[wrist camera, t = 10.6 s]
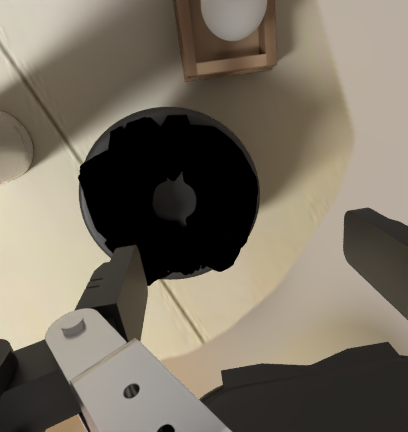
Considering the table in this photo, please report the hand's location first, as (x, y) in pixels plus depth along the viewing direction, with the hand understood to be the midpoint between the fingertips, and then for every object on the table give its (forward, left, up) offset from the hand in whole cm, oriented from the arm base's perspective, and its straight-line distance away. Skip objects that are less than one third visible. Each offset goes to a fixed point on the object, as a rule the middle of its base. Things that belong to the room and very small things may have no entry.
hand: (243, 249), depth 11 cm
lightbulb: (+5, +13, -31) cm, 34 cm away
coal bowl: (-4, -5, -32) cm, 32 cm away
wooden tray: (+5, +13, -32) cm, 34 cm away
